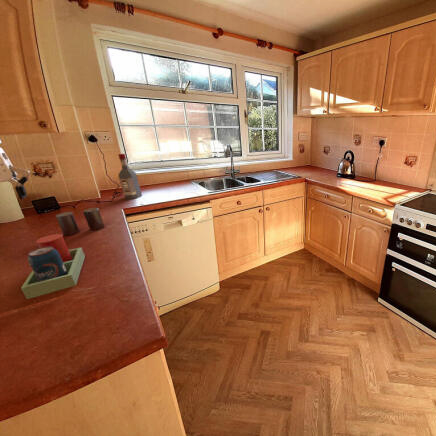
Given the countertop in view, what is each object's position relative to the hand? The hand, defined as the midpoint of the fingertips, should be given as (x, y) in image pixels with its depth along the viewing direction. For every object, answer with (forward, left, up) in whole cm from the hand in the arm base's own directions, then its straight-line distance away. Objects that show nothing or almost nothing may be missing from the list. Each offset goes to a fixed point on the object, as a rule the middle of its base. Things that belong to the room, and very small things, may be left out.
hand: (1, 200), depth 76 cm
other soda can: (+7, -2, -27) cm, 28 cm away
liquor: (+31, +92, -27) cm, 101 cm away
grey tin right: (+14, +37, -27) cm, 48 cm away
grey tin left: (+4, +37, -27) cm, 47 cm away
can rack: (+7, -7, -27) cm, 29 cm away
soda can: (+7, -12, -27) cm, 30 cm away
